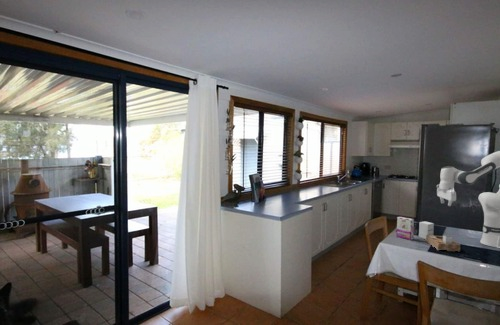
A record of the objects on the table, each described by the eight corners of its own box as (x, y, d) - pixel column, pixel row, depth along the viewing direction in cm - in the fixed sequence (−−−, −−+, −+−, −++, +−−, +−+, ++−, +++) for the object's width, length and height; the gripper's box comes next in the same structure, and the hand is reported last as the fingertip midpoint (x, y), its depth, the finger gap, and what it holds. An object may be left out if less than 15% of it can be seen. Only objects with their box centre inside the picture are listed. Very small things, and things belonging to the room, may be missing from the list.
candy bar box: (413, 239, 210) (414, 219, 209) (410, 240, 207) (411, 220, 206) (398, 235, 219) (399, 216, 218) (396, 236, 216) (396, 217, 215)
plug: (448, 247, 192) (448, 235, 192) (451, 250, 188) (452, 237, 188) (442, 247, 193) (442, 234, 192) (445, 249, 189) (445, 236, 188)
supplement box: (427, 239, 209) (428, 224, 208) (418, 236, 215) (418, 221, 215) (433, 238, 211) (434, 223, 211) (424, 235, 218) (425, 220, 217)
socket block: (445, 242, 203) (446, 235, 202) (459, 251, 185) (460, 244, 185) (425, 241, 205) (426, 234, 205) (438, 250, 188) (438, 243, 187)
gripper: (459, 189, 193) (458, 207, 194) (444, 185, 213) (443, 201, 214) (449, 189, 194) (449, 207, 195) (435, 185, 214) (434, 201, 215)
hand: (445, 204), depth 205 cm, fingers open, 8 cm apart
